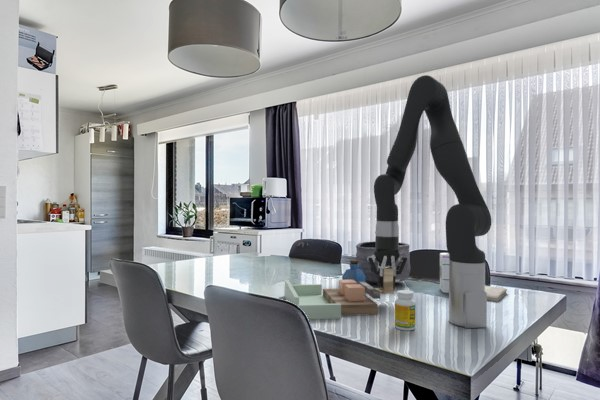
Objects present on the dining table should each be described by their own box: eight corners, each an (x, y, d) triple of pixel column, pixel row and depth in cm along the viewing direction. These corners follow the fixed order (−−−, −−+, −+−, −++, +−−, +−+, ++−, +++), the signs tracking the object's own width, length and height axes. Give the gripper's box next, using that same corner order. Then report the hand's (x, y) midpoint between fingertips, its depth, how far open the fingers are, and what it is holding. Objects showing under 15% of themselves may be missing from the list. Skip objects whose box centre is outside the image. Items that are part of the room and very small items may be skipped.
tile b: (357, 294, 128) (357, 282, 128) (342, 294, 127) (342, 282, 127) (352, 291, 132) (352, 279, 133) (338, 291, 132) (338, 279, 132)
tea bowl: (372, 273, 180) (372, 236, 179) (418, 280, 167) (418, 240, 166) (345, 285, 160) (345, 244, 159) (396, 294, 147) (396, 249, 146)
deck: (377, 314, 115) (377, 304, 116) (338, 315, 114) (338, 305, 114) (355, 296, 137) (356, 288, 137) (322, 297, 135) (322, 288, 136)
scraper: (400, 298, 120) (400, 272, 120) (373, 298, 119) (374, 272, 119) (382, 287, 136) (382, 264, 136) (358, 287, 135) (359, 264, 135)
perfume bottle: (365, 293, 143) (365, 260, 144) (355, 295, 139) (356, 262, 139) (351, 290, 148) (352, 258, 148) (342, 292, 143) (342, 260, 143)
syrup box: (457, 293, 144) (458, 254, 145) (441, 292, 146) (441, 254, 146) (454, 290, 150) (455, 252, 150) (438, 289, 151) (439, 252, 151)
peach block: (364, 300, 120) (364, 287, 120) (348, 300, 119) (349, 287, 119) (359, 296, 125) (359, 284, 125) (344, 297, 124) (344, 284, 124)
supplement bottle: (398, 323, 107) (398, 288, 107) (417, 326, 104) (418, 291, 104) (391, 328, 102) (392, 292, 102) (411, 332, 99) (412, 294, 99)
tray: (340, 318, 111) (341, 297, 111) (295, 319, 109) (295, 298, 109) (320, 295, 139) (321, 278, 139) (284, 296, 137) (284, 279, 137)
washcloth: (507, 294, 146) (507, 286, 146) (498, 304, 132) (499, 294, 132) (474, 290, 153) (474, 282, 153) (462, 298, 139) (462, 289, 139)
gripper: (370, 235, 123) (369, 290, 123) (412, 235, 125) (411, 289, 125) (363, 233, 131) (362, 285, 130) (402, 234, 132) (402, 284, 132)
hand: (386, 286), depth 128 cm, fingers closed on scraper, 3 cm apart
